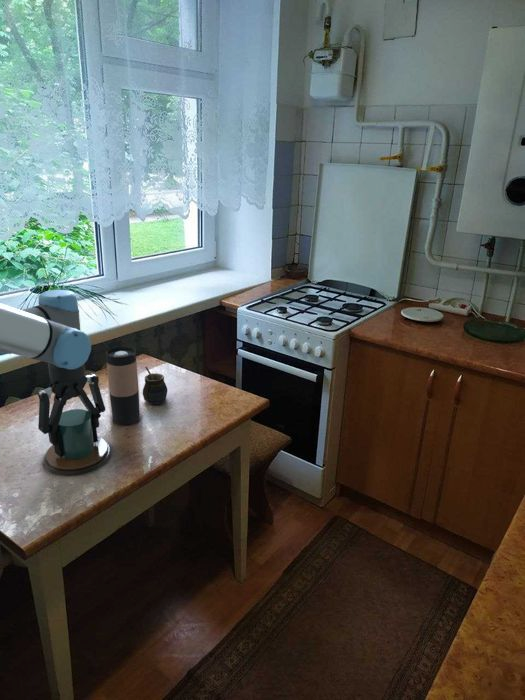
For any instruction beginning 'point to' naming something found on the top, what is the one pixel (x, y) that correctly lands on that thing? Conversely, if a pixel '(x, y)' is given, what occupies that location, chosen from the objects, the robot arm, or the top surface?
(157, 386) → the mate gourd
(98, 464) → the base
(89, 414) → the tea cup
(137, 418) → the travel mug
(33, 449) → the top surface
